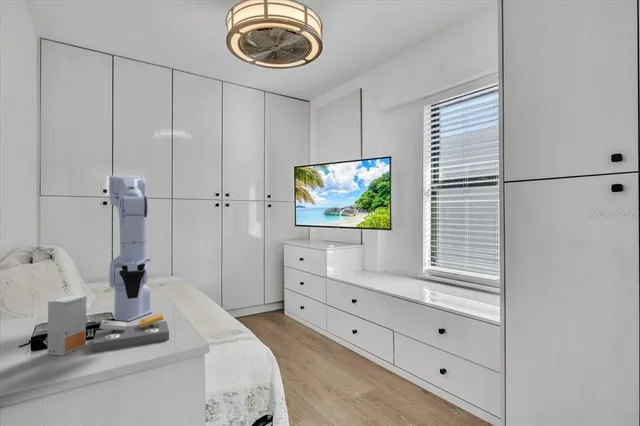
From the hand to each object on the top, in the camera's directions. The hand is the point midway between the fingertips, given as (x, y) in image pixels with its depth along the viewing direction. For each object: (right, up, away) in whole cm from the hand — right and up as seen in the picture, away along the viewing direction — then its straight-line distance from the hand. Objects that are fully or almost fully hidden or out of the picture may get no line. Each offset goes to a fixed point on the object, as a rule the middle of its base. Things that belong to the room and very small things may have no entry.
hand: (133, 294), depth 86 cm
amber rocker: (+4, -7, +1) cm, 8 cm away
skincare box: (-10, -11, -10) cm, 17 cm away
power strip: (+2, -10, -3) cm, 11 cm away
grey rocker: (-3, -7, -3) cm, 8 cm away
